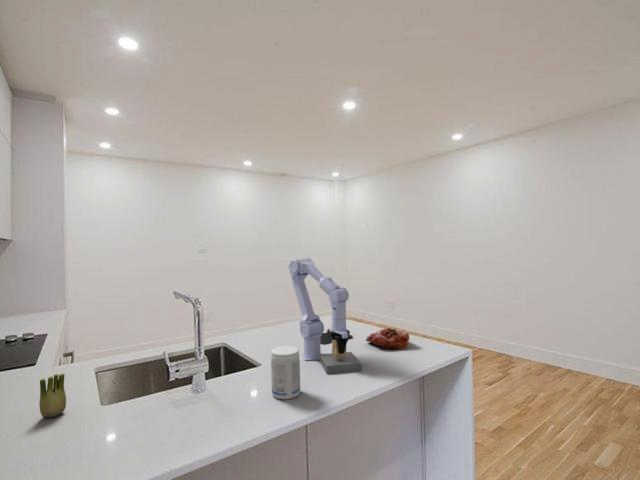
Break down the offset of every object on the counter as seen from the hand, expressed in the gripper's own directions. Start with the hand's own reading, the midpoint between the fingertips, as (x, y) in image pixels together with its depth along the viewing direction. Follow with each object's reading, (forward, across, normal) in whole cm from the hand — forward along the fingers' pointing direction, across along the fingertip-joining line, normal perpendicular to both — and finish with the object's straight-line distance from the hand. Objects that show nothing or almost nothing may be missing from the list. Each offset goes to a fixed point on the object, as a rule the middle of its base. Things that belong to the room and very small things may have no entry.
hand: (339, 351), depth 139 cm
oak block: (+2, 0, 0) cm, 2 cm away
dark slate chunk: (+7, -40, +9) cm, 41 cm away
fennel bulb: (+6, +12, -94) cm, 95 cm away
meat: (+6, -20, +32) cm, 38 cm away
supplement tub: (+6, +19, -26) cm, 32 cm away
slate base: (+6, 0, 0) cm, 6 cm away
